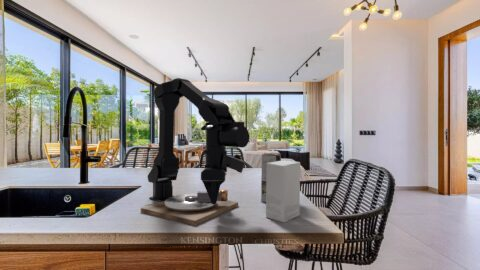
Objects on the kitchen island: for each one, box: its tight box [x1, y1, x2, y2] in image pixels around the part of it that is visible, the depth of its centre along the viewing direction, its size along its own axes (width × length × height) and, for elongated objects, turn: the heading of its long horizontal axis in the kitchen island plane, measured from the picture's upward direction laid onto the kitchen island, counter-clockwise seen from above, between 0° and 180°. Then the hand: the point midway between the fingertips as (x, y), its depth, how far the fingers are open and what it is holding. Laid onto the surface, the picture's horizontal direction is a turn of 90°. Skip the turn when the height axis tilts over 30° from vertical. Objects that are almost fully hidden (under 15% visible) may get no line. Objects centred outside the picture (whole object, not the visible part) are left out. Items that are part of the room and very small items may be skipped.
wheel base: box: [140, 200, 239, 226], centre depth 83 cm, size 21×21×1 cm
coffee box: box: [260, 152, 282, 203], centre depth 96 cm, size 9×6×16 cm
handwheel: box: [165, 189, 229, 212], centre depth 83 cm, size 19×16×4 cm
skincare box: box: [265, 159, 301, 223], centre depth 76 cm, size 8×7×16 cm
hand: (215, 200), depth 78 cm, fingers open, 7 cm apart
